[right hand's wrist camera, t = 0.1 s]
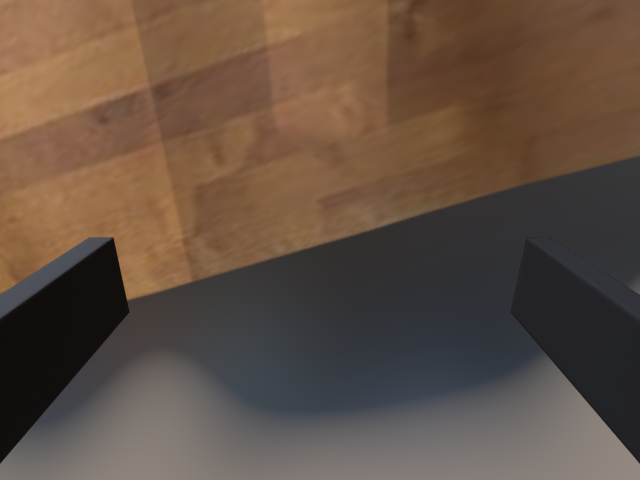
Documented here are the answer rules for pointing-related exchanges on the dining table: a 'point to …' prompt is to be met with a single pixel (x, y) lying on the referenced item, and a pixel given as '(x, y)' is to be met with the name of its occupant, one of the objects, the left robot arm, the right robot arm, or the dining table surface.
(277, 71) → the dining table surface
